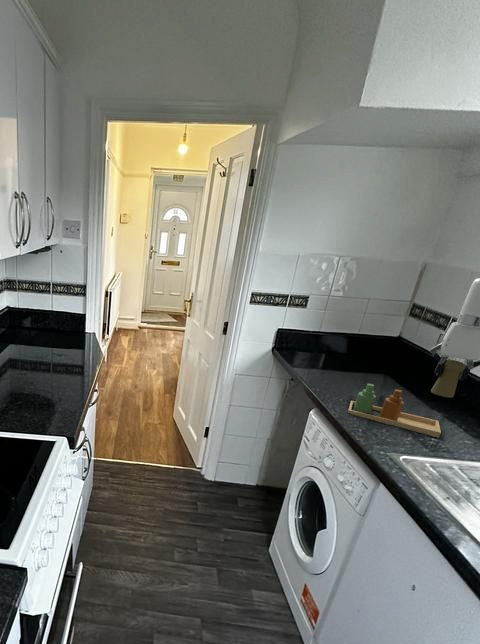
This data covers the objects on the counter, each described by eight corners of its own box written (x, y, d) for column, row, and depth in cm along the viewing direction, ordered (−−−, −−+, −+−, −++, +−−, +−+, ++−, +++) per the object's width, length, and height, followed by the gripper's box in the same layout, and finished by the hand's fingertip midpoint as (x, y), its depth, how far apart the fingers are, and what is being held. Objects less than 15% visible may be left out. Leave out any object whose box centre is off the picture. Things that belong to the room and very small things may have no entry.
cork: (451, 399, 129) (466, 366, 125) (428, 392, 134) (442, 360, 129) (455, 394, 133) (470, 362, 128) (433, 388, 137) (446, 356, 133)
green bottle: (370, 411, 156) (380, 384, 152) (369, 416, 152) (379, 388, 147) (353, 407, 159) (362, 380, 155) (352, 412, 155) (361, 384, 150)
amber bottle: (397, 417, 152) (407, 390, 148) (397, 423, 148) (408, 394, 143) (379, 413, 155) (389, 386, 150) (378, 418, 150) (389, 390, 146)
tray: (436, 425, 149) (438, 420, 148) (438, 437, 140) (441, 432, 139) (349, 405, 162) (351, 400, 161) (346, 414, 153) (348, 410, 152)
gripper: (508, 324, 123) (481, 380, 130) (436, 314, 131) (415, 368, 138) (514, 328, 117) (486, 387, 124) (439, 318, 125) (417, 374, 132)
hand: (449, 377), depth 131 cm, fingers closed on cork, 5 cm apart
